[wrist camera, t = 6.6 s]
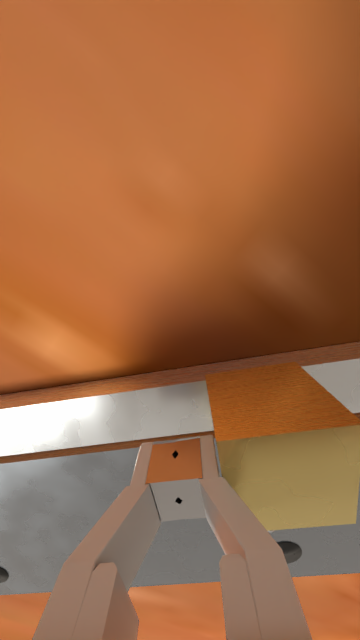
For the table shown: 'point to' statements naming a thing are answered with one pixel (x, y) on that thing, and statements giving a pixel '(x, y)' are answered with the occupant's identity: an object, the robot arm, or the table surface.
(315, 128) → the table surface
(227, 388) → the sliding head
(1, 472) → the flange plate
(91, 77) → the table surface
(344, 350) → the trammel beam
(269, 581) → the robot arm
